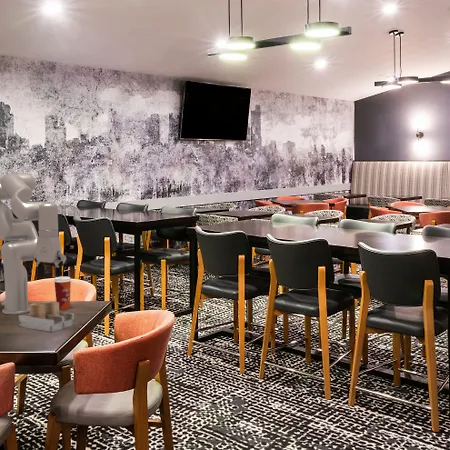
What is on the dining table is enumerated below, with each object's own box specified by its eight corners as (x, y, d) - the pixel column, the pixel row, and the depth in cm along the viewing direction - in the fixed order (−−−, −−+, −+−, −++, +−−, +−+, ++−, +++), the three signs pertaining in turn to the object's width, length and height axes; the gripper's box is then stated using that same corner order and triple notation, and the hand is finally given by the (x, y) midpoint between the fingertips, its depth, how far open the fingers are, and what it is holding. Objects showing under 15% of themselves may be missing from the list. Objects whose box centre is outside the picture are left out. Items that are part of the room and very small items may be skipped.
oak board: (30, 326, 241) (29, 304, 241) (35, 324, 244) (34, 303, 243) (41, 328, 239) (40, 306, 238) (45, 326, 241) (45, 304, 240)
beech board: (44, 323, 245) (43, 302, 244) (49, 322, 247) (48, 300, 247) (55, 325, 242) (54, 303, 242) (59, 324, 245) (58, 302, 244)
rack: (19, 326, 241) (18, 315, 241) (42, 319, 252) (41, 308, 252) (52, 332, 233) (51, 320, 232) (74, 324, 244) (74, 313, 243)
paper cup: (67, 310, 267) (66, 279, 266) (51, 309, 268) (50, 279, 267) (75, 306, 275) (74, 276, 273) (59, 305, 276) (58, 275, 275)
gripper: (26, 233, 242) (27, 275, 244) (57, 236, 234) (59, 279, 236) (40, 231, 249) (41, 272, 250) (71, 234, 240) (72, 276, 242)
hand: (50, 275), depth 243 cm, fingers open, 9 cm apart
